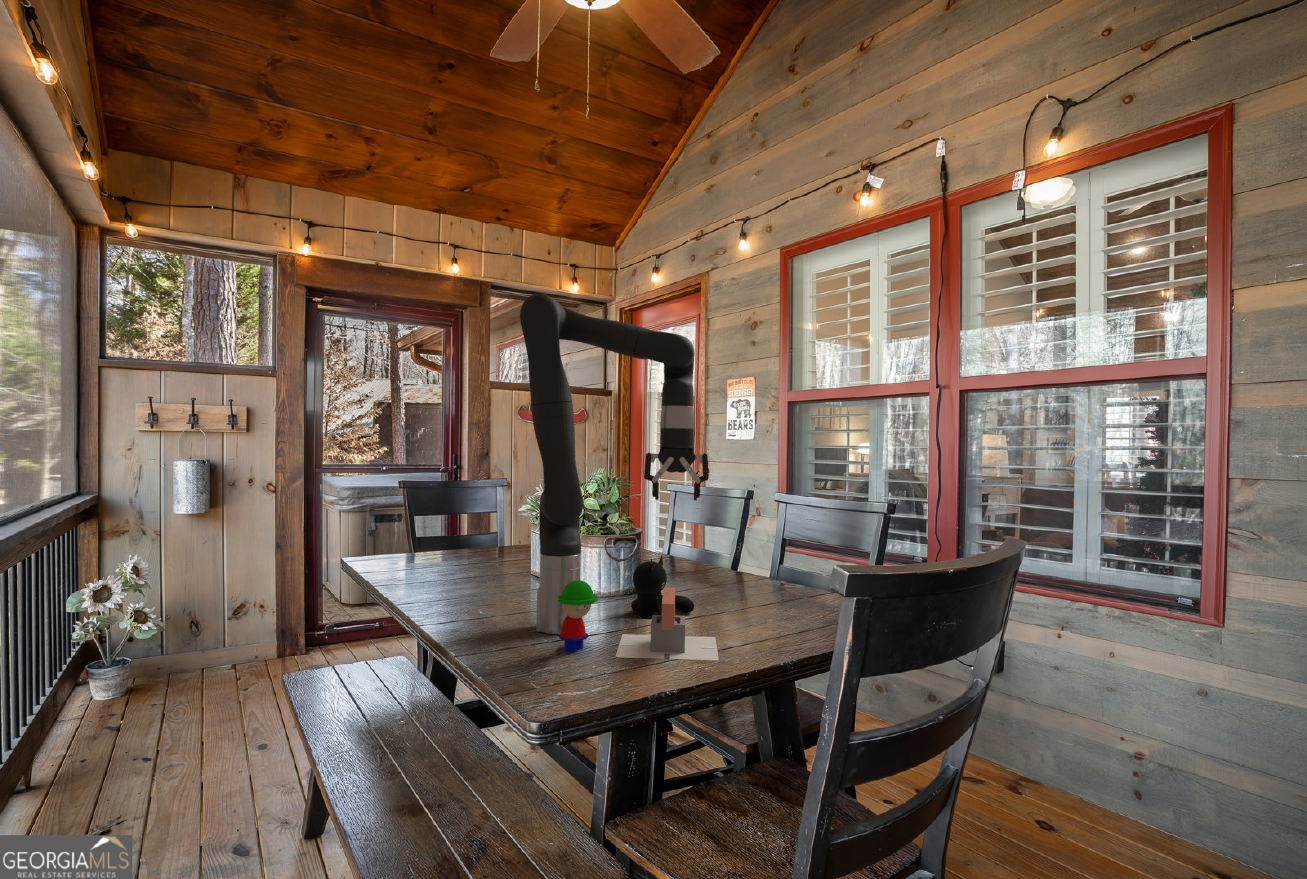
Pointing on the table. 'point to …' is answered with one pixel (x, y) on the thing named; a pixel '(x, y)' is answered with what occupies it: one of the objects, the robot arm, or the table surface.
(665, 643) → the red bar with frame
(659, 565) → the figurine
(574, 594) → the toy
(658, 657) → the lock board
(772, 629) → the table surface
